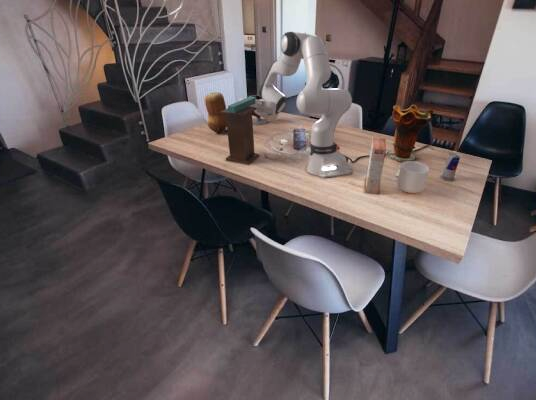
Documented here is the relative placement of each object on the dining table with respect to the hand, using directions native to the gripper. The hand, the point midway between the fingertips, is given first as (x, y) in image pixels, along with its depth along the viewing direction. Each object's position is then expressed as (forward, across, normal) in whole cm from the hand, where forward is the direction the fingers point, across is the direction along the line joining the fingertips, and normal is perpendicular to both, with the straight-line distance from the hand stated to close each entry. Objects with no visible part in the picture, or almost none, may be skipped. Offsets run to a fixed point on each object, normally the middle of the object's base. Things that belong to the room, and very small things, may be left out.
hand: (250, 99), depth 161 cm
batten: (+6, 0, +6) cm, 8 cm away
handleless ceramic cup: (-2, +86, +31) cm, 92 cm away
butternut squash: (-30, -35, +15) cm, 48 cm away
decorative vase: (-36, +80, +12) cm, 89 cm away
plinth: (-3, 0, +31) cm, 31 cm away
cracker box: (+1, +70, +33) cm, 77 cm away
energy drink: (-19, +103, +22) cm, 107 cm away
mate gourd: (-56, -21, 0) cm, 60 cm away
